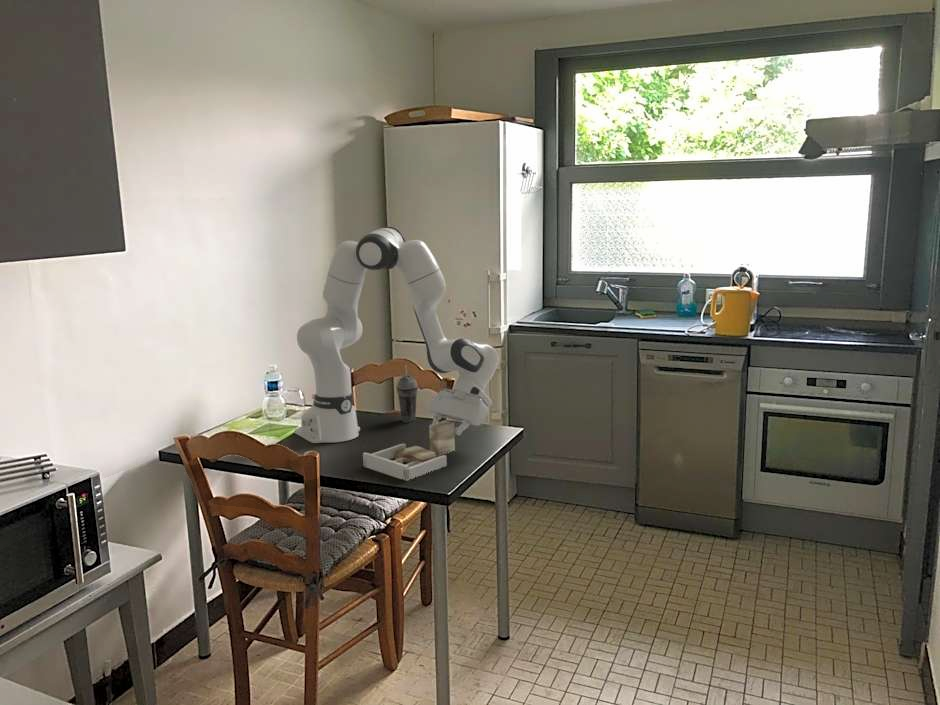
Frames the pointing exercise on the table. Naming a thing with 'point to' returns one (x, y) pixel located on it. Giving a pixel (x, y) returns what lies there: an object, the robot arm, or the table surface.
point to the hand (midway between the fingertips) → (444, 431)
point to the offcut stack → (415, 454)
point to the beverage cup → (407, 397)
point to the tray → (400, 464)
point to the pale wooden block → (442, 437)
